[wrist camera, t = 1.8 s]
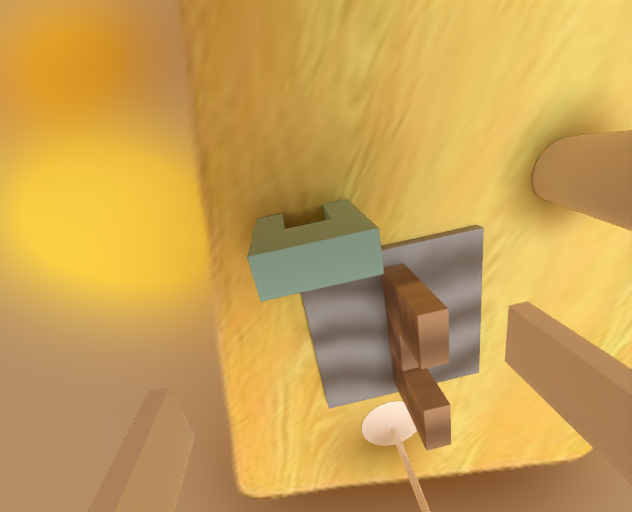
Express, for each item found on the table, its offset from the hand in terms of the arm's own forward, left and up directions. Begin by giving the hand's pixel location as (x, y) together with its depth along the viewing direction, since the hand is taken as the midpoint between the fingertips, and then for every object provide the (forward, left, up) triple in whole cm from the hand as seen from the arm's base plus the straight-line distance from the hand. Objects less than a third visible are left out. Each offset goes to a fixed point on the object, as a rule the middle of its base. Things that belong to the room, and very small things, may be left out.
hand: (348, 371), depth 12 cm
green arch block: (0, 0, -20) cm, 20 cm away
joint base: (+14, +8, -20) cm, 26 cm away
